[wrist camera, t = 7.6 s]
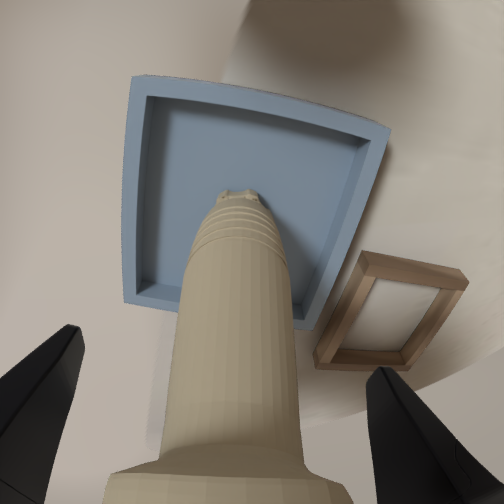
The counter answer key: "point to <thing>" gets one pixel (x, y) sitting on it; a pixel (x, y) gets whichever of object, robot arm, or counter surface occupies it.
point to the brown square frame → (354, 297)
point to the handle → (231, 377)
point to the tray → (240, 181)
